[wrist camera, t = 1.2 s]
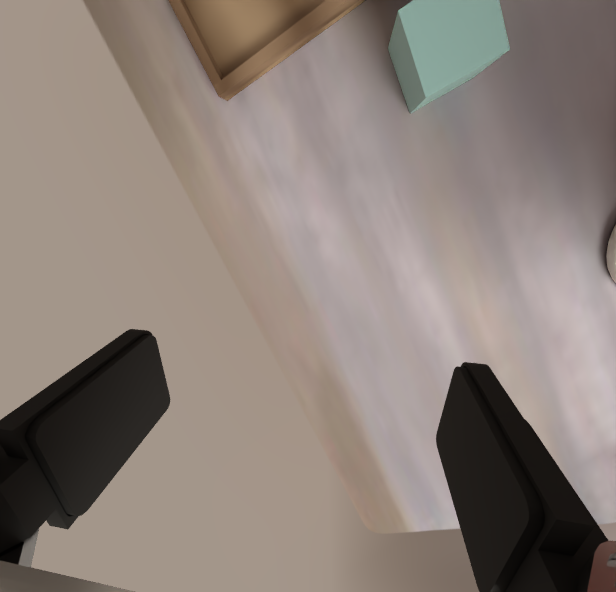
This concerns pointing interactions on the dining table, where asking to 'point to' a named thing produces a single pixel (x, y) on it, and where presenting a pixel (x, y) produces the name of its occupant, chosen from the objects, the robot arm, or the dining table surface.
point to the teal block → (444, 45)
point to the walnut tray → (252, 34)
